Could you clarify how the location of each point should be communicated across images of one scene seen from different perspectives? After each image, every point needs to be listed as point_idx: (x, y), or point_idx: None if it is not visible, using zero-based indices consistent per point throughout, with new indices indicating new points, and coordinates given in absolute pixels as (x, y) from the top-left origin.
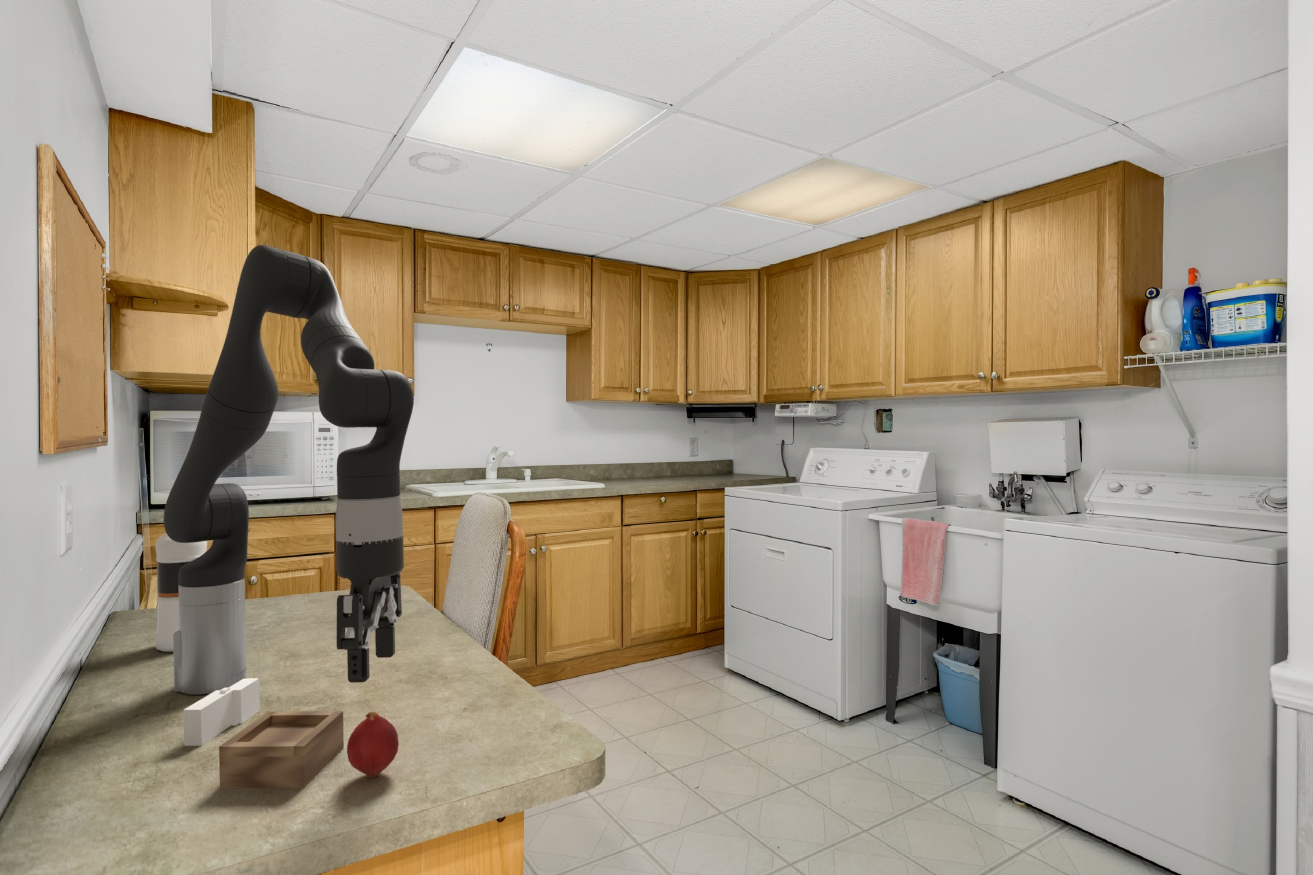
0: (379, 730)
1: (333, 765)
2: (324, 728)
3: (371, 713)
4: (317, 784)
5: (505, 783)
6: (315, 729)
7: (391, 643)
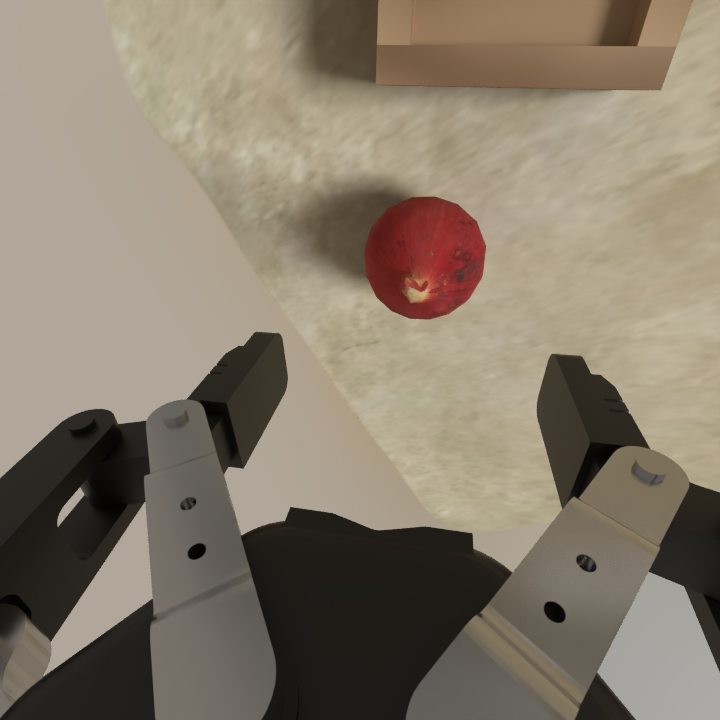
0: (389, 302)
1: (499, 110)
2: (511, 86)
3: (405, 294)
4: (402, 115)
5: (380, 440)
6: (502, 56)
7: (548, 445)
